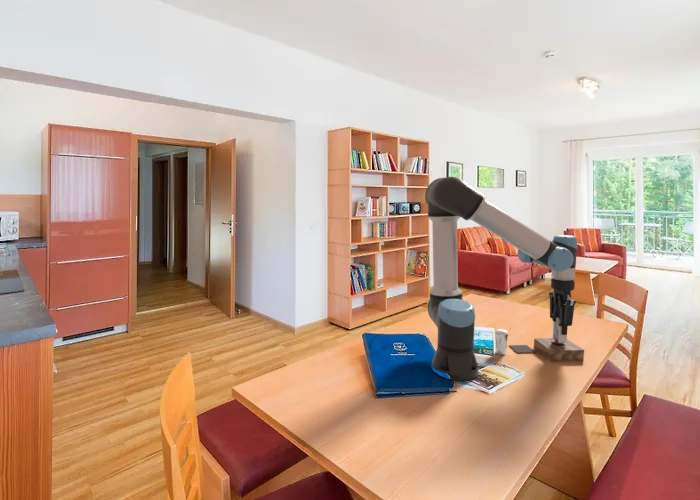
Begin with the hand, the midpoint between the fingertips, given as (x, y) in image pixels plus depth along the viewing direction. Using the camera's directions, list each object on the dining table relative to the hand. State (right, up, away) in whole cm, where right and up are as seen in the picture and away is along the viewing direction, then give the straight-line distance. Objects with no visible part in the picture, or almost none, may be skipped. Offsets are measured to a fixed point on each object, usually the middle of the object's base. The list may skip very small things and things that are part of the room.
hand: (559, 340), depth 146 cm
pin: (0, -5, +1) cm, 5 cm away
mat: (-11, -5, +5) cm, 13 cm away
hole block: (0, -5, +1) cm, 5 cm away
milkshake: (-20, -5, +2) cm, 21 cm away
